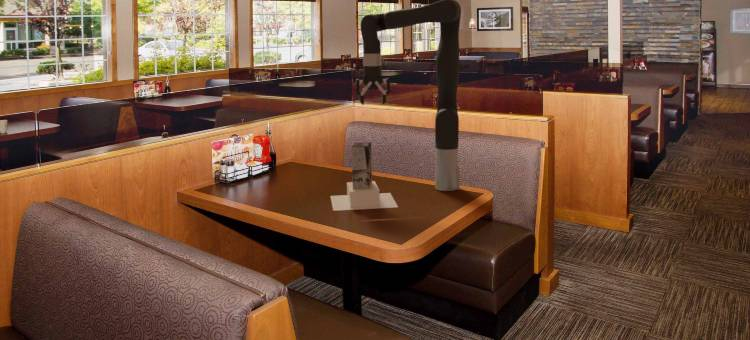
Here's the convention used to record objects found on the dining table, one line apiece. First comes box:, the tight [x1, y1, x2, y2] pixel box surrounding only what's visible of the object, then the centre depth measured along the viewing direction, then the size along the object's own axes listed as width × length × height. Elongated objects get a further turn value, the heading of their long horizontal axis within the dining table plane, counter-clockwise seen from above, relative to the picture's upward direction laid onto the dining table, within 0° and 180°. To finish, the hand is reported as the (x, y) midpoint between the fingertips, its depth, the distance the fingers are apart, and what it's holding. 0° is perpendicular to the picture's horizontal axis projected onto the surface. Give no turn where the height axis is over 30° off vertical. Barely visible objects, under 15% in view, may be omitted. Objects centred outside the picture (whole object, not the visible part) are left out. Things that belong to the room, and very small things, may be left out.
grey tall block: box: [351, 142, 373, 189], centre depth 232 cm, size 9×6×16 cm
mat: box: [329, 192, 399, 212], centre depth 235 cm, size 24×20×1 cm
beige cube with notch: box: [346, 180, 380, 207], centre depth 234 cm, size 11×14×6 cm
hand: (373, 104), depth 255 cm, fingers open, 8 cm apart
